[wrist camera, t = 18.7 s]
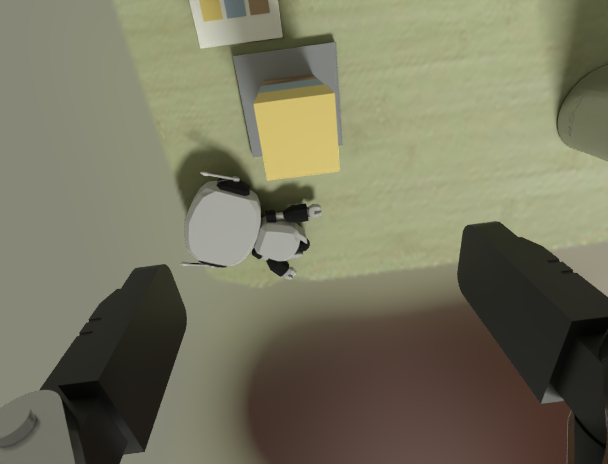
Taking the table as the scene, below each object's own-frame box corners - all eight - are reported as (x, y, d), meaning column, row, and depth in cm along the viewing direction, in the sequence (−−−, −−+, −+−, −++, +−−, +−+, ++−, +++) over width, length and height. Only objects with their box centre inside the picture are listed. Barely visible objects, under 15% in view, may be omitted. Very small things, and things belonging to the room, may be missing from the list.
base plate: (334, 42, 33) (336, 42, 32) (341, 143, 38) (342, 145, 37) (233, 55, 33) (232, 56, 32) (253, 155, 38) (252, 157, 37)
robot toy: (323, 193, 42) (200, 158, 38) (330, 209, 38) (194, 172, 34) (291, 270, 47) (181, 246, 43) (294, 291, 43) (174, 267, 39)
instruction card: (272, -42, 30) (272, -42, 29) (282, 37, 33) (282, 37, 32) (182, -29, 30) (181, -29, 29) (200, 48, 33) (200, 48, 32)
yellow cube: (330, 150, 27) (339, 171, 23) (269, 158, 27) (267, 180, 23) (325, 84, 25) (334, 93, 20) (258, 93, 25) (253, 103, 20)
